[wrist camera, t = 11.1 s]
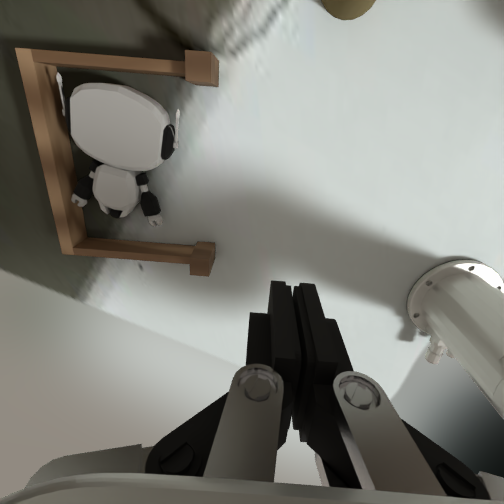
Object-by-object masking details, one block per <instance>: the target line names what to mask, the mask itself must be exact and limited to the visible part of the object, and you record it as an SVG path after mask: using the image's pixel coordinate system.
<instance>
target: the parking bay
mask: <svg viewBox="0 0 504 504" xmlns="http://www.w3.org/2000/svg"><path fill="white" fill-rule="evenodd" d="M15 50H16V55H17V59H18V63H19V68H20V72H21V76H22V81H23V85H24V89H25V94H26V98H27V102H28V107H29V111H30V115H31V120H32V124H33V129H34V133H35V137H36V142H37V146H38V150H39V155H40V159H41V163H42V168H43V172H44V176H45V181H46V185H47V189H48V194H49V198H50V203H51V207H52V211H53V216H54V220H55V224H56V229H57V233H58V237H59V242H60V246H61V250H62V254H69V255H81V256H94V257H106V258H119V259H131V260H144V261H156V262H169V263H182V264H190V275H197V276H209V275H210V272H211V269H212V266H213V263H214V260H215V243H211V242H199V241H198V242H197V244H196V246H191V245H178V244H165V243H153V242H140V241H128V240H115V239H103V238H90V237H87V232H86V226H85V221H84V215H83V210H82V207H79V206H78V203H79V201H78V200H77V203H73V202H72V201H71V199H72V194H73V191H74V189H75V187H76V185H77V184H78V183H77V177H76V172H75V166H74V161H73V156H72V150H71V145H70V139H69V134H68V128H67V124H66V121H65V116H63V112H62V109H63V104H62V99H61V94H60V89H59V84H58V82H57V78H56V75H57V68H56V67H68V68H80V69H93V70H105V71H117V72H130V73H142V74H155V75H167V76H180V77H186V81H188V82H190V83H192V84H195V85H199V86H212V87H218V85H219V60H218V59H217V58H216V57H215V56H214V54H213V53H212V52H205V51H193V50H185V61H174V60H161V59H149V58H136V57H124V56H111V55H99V54H87V53H74V52H62V51H49V50H37V49H24V48H15Z"/></svg>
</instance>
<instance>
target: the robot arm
mask: <svg viewBox="0 0 504 504" xmlns="http://www.w3.org/2000/svg"><path fill="white" fill-rule="evenodd" d="M407 310H408V314H409V317H410V318H411V320H412V322H413V323H414V324H415V325H416V327H418V328H419V329H420V330H421V331H423V332H425V333H427V334H430V335H431V337H430V342H431V345H430V347H428V350H427V352H426V354H425V359H426V360H427V361H428V362H430V363H432V364H438V363H439V361H440V359H441V357H442V355H443V351H444V349H447V352H446V354H447V355H448V356H449V357H451V358H456V359H457V361H458V362H459V363H460V365H461V366H462V367H463V368H464V370H465V371H466V372H467V373H468V375H469V376H470V377H471V379H472V380H473V381H474V382H475V383H476V385H477V386H478V388H479V389H480V390H481V391H482V393H483V394H484V395H485V396H486V398H487V399H488V400H489V401H490V403H491V404H492V405H493V407H494V408H495V409H496V410H497V412H498V413H499V414H500V416H501V417H502V418H503V419H504V284H503V281H502V279H501V277H500V276H499V274H498V273H497V272H496V271H495V270H493V269H492V268H491V267H489V266H487V265H486V264H484V263H481V262H478V261H473V260H457V261H452V262H448V263H445V264H442V265H439V266H437V267H436V268H434V269H432V270H430V271H429V272H427V273H426V274H425V275H423V276H422V277H421V278H420V279H419V280H418V281H417V282H416V284H415V285H414V287H413V288H412V290H411V292H410V294H409V297H408V301H407ZM291 416H292V422H293V429H294V430H299V435H300V441H301V442H307V444H308V445H309V446H310V447H311V448H312V449H313V450H314V451H315V460H316V465H317V469H318V472H319V476H320V479H321V482H322V486H313V485H301V484H288V483H274V474H275V465H276V456H277V450H278V449H279V448H280V447H281V446H282V445H283V444H284V443H285V442H286V437H287V432H288V429H289V426H290V421H291ZM0 504H504V478H501V477H498V476H494V475H491V474H488V473H485V472H481V471H480V472H479V474H478V475H476V474H474V473H473V472H472V471H471V470H470V469H469V468H468V467H467V466H466V465H464V464H463V463H462V462H461V461H459V460H458V459H457V458H455V457H454V456H452V455H451V454H450V453H448V452H447V451H445V450H444V449H443V448H441V447H440V446H438V445H437V444H436V443H434V442H433V441H431V440H430V439H429V438H427V437H426V436H425V435H423V434H422V433H420V432H419V431H418V430H416V429H415V428H413V427H412V426H410V425H409V424H407V423H406V422H405V421H404V420H402V419H401V418H400V417H399V415H398V414H397V412H396V410H395V409H394V407H393V405H392V404H391V402H390V400H389V399H388V397H387V395H386V394H385V392H384V390H383V389H382V388H381V386H380V385H379V384H378V383H377V382H376V381H374V380H373V379H372V378H370V377H369V376H367V375H365V374H362V373H359V372H354V371H353V368H352V365H351V362H350V359H349V356H348V353H347V351H346V348H345V345H344V342H343V339H342V336H341V333H340V331H339V328H338V325H337V322H336V320H335V319H328V318H325V316H324V313H323V309H322V306H321V303H320V299H319V296H318V293H317V289H316V286H315V284H309V283H300V284H299V286H294V290H293V297H292V291H291V286H288V285H286V282H284V281H271V286H270V295H269V304H268V313H267V314H265V313H252V312H250V317H249V329H248V342H247V356H246V366H244V367H242V368H240V369H239V370H238V371H237V372H236V373H235V375H234V377H233V380H232V383H231V386H230V390H229V392H227V393H226V394H225V395H223V396H222V397H220V398H219V399H218V400H216V401H215V402H213V403H212V404H210V405H209V406H208V407H206V408H205V409H203V410H202V411H200V412H199V413H198V414H196V415H195V416H193V417H192V418H191V419H189V420H188V421H186V422H185V423H183V424H182V425H181V426H179V427H178V428H176V429H175V430H173V431H172V432H171V433H169V434H168V435H167V436H165V437H163V438H162V439H161V440H160V441H159V442H158V443H157V444H156V445H155V446H151V447H145V448H142V444H137V445H131V446H125V447H118V448H112V449H106V450H100V451H93V452H87V453H80V454H74V455H69V456H63V457H60V458H57V459H54V460H52V461H50V462H49V463H47V464H45V465H44V466H42V467H41V468H40V469H39V470H38V471H37V472H36V473H35V474H34V475H33V476H32V477H31V478H30V480H29V482H28V483H27V485H26V487H25V488H24V489H22V490H20V491H17V492H14V493H12V494H10V495H8V496H5V497H3V498H1V499H0Z"/></svg>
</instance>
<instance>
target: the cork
mask: <svg viewBox="0 0 504 504" xmlns="http://www.w3.org/2000/svg"><path fill="white" fill-rule="evenodd" d="M321 1H322V3H323V5H324V6H325V8H326V10H327V11H328V12H329V13H330V14H331V15H332V16H334V17H335V18H338V19H341V20H353V19H355V18H357V17H360V16H362V15H363V14H364V13H365V12H367V11H368V10H369V9H370V8H371V7H372V5H373V4H374V2H375V1H376V0H321Z"/></svg>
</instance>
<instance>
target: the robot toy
mask: <svg viewBox="0 0 504 504" xmlns="http://www.w3.org/2000/svg"><path fill="white" fill-rule="evenodd" d="M56 78H57V82H58V84H59V89H60V94H61V99H62V104H63V109H62V112H63V116H65V121H66V124H67V128H68V131H69V132H71V136H72V138H73V139H74V141H75V143H76V145H77V146H78V147H79V148H80V149H81V150H82V151H83V152H85V153H86V154H88V155H89V156H91V157H93V158H94V160H93V161H92V163H91V165H90V167H89V169H90V170H91V172H90V174H89V175H87V176H85V177H83V178H81V179H80V180H79V182H78V184H77V185H76V187H75V189H74V191H73V194H72V199H71V201H72V202H73V203H77V200H78V201H79V203H78V206H79V207H84V206H85V205H86V204H87V199H90V198H91V196H92V194H93V193H94V196H95V198H96V199H97V200H98V202H99V205H100V208H101V210H102V211H103V212H105V213H106V214H109V213H110V214H111V216H112V217H114V218H121V217H125V216H127V215H128V214H129V213H130V212H131V211H132V210H133V209H134V208H135V206H136V204H137V203H138V202H140V204H141V207H142V210H143V212H144V215H145V216H149V217H148V221H149V223H150V224H151V226H156V225H158V226H160V225H161V224H162V223H163V221H162V217H161V216H160V215H159V214H158V213H160V211H161V209H160V206H159V203H158V200H157V197H156V196H155V195H154V194H153V193H151V192H150V191H149V190H148V187H147V183H148V182H149V180H148V177H147V174H146V173H141V172H140V171H147V170H151V169H153V168H156V167H158V166H159V165H160V164H162V163H163V161H164V160H166V159H168V158H169V157H170V156H171V155H172V153H173V152H174V150H175V149H177V147H178V141H177V139H178V125H179V117H180V111H179V109H178V110H177V112H176V131H175V128H174V126H173V125H171V124H170V120H169V116H168V113H167V112H166V110H165V109H164V108H163V107H162V106H161V105H160V104H159V103H158V102H157V101H155V100H154V99H152V98H151V97H149V96H147V95H146V94H144V93H141V92H139V91H137V90H135V89H133V88H131V87H129V86H125V85H118V84H110V83H86V84H82V85H80V86H78V87H76V88H74V91H73V93H72V95H71V97H67V101H66V102H65V97H64V92H63V86H62V77H61V75H60V74H59V73H57V75H56ZM155 220H156V221H155ZM156 222H157V224H156Z"/></svg>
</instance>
